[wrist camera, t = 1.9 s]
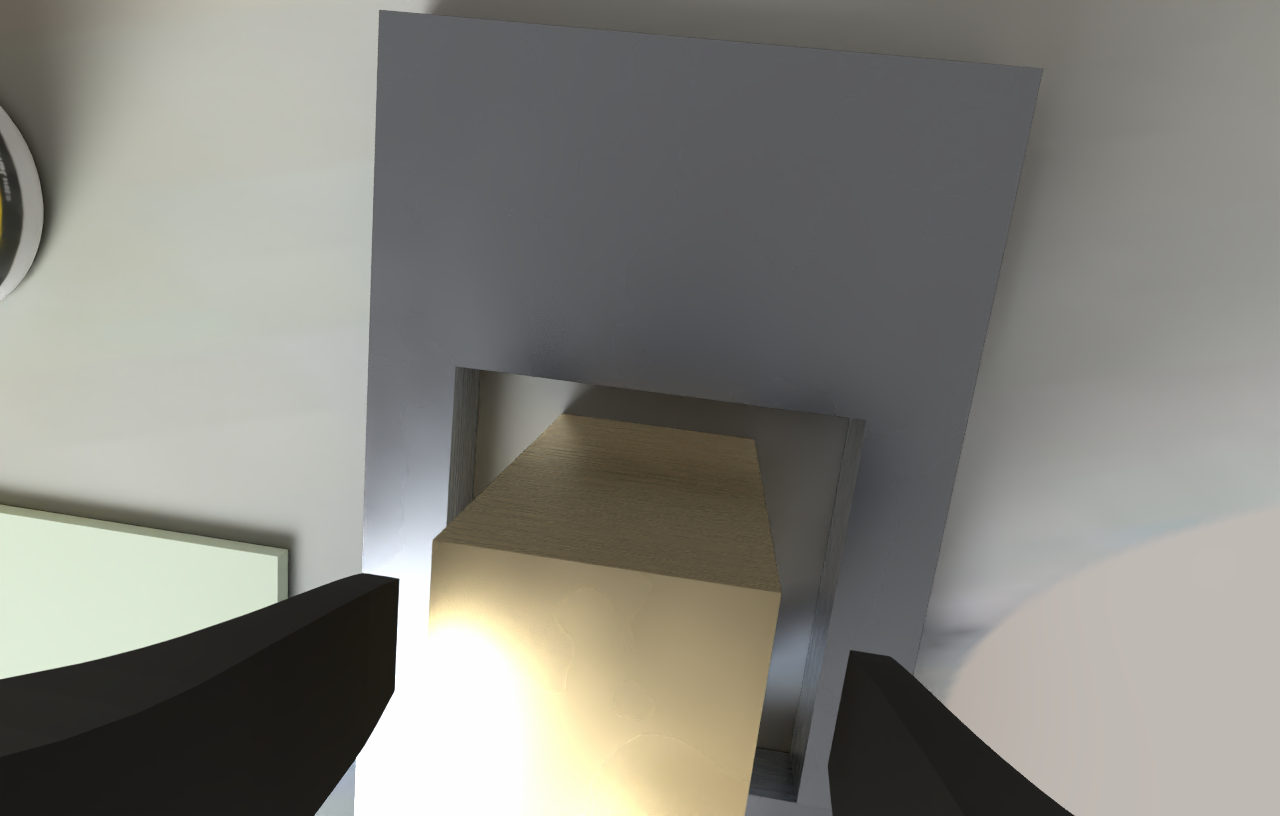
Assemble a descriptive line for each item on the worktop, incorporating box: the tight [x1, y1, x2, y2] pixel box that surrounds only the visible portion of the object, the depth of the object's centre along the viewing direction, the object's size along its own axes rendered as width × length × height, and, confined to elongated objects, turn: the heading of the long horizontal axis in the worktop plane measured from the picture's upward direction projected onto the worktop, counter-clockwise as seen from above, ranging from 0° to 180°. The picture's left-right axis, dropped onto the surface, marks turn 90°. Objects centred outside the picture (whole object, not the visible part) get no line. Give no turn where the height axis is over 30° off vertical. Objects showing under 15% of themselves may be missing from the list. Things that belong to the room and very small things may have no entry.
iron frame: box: [354, 10, 1043, 816], centre depth 15 cm, size 20×11×2 cm, turn 174°
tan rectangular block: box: [418, 413, 782, 816], centre depth 12 cm, size 6×4×7 cm, turn 174°
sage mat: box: [0, 505, 288, 679], centre depth 19 cm, size 16×14×1 cm
